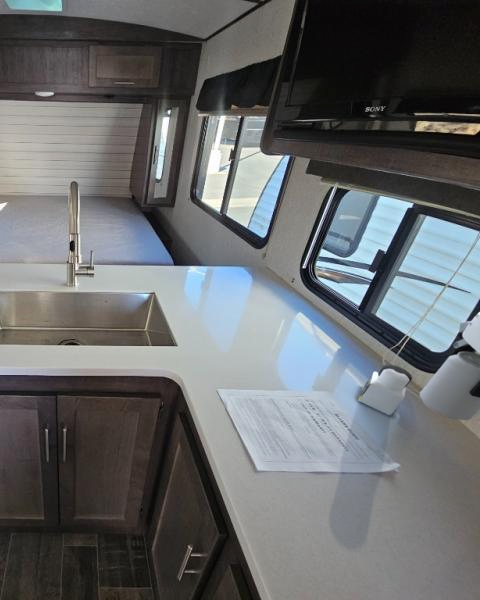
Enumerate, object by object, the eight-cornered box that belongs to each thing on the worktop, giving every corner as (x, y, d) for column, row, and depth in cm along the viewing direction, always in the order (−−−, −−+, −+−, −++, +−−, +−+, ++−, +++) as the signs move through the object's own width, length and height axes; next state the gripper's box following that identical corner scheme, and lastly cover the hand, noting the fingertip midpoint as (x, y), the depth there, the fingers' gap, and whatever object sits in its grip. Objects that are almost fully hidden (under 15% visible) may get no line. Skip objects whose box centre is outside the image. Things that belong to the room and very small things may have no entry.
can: (458, 428, 59) (504, 381, 53) (409, 399, 65) (445, 354, 59) (476, 415, 62) (522, 369, 56) (428, 388, 68) (464, 344, 62)
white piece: (362, 388, 95) (383, 357, 89) (393, 402, 91) (417, 371, 85) (357, 401, 91) (379, 369, 84) (390, 416, 86) (415, 384, 80)
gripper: (629, 336, 43) (530, 424, 52) (525, 280, 57) (461, 357, 66) (553, 324, 45) (470, 410, 54) (471, 273, 59) (416, 348, 68)
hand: (466, 380), depth 60 cm, fingers closed on can, 7 cm apart
